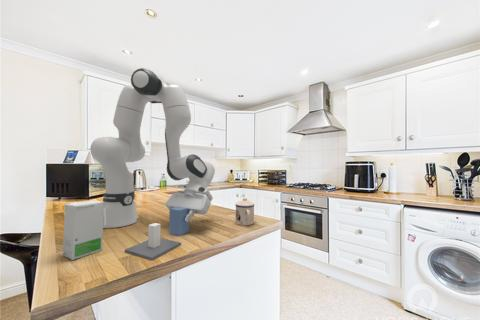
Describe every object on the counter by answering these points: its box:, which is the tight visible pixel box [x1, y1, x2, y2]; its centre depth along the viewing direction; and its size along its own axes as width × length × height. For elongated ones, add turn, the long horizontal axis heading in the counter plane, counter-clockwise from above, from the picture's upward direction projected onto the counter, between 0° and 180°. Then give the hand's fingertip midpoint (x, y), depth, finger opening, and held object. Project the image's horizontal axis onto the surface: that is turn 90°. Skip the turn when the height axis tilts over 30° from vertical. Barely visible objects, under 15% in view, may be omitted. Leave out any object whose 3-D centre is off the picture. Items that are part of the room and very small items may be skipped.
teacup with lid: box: [235, 197, 255, 226], centre depth 93 cm, size 12×9×12 cm
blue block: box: [168, 207, 190, 237], centre depth 80 cm, size 5×5×10 cm
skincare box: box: [62, 200, 104, 261], centre depth 62 cm, size 8×7×16 cm
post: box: [124, 222, 182, 261], centre depth 65 cm, size 12×12×8 cm
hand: (178, 220), depth 80 cm, fingers closed on blue block, 5 cm apart
